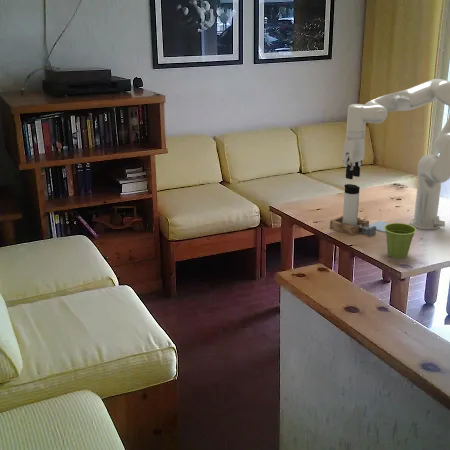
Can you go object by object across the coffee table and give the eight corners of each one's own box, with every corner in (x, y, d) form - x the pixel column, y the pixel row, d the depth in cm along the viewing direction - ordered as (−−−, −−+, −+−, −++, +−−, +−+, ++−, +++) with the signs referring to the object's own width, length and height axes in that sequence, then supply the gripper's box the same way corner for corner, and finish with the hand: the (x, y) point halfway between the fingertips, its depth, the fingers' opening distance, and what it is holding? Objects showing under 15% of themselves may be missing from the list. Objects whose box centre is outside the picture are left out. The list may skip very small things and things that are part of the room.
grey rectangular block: (375, 233, 238) (376, 226, 237) (370, 236, 235) (370, 229, 234) (360, 229, 243) (361, 222, 242) (355, 232, 240) (355, 225, 239)
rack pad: (398, 227, 245) (398, 226, 245) (386, 233, 238) (387, 232, 238) (378, 221, 252) (378, 220, 251) (366, 227, 245) (366, 226, 245)
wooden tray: (368, 228, 244) (369, 221, 243) (354, 235, 236) (354, 227, 235) (344, 221, 252) (345, 214, 251) (329, 228, 245) (330, 220, 244)
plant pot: (375, 252, 219) (377, 225, 215) (399, 247, 224) (402, 221, 220) (395, 263, 209) (398, 235, 205) (420, 258, 214) (423, 230, 210)
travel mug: (338, 227, 246) (341, 183, 239) (352, 225, 248) (355, 182, 241) (345, 231, 241) (348, 187, 234) (359, 230, 242) (362, 185, 235)
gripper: (358, 130, 238) (356, 172, 244) (336, 136, 227) (333, 179, 233) (374, 132, 233) (371, 175, 239) (351, 139, 222) (348, 183, 228)
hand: (352, 177), depth 236 cm, fingers open, 4 cm apart
